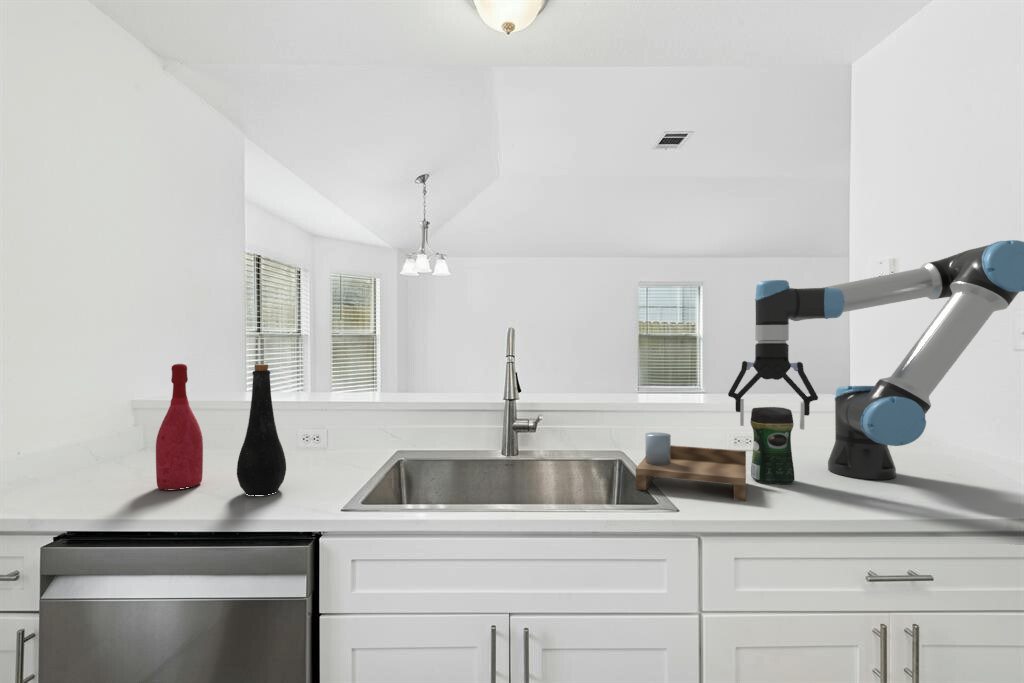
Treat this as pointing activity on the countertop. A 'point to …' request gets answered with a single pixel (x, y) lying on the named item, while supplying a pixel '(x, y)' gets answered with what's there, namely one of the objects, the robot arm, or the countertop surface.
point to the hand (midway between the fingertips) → (771, 426)
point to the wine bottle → (179, 440)
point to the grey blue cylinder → (658, 448)
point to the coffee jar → (772, 445)
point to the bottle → (261, 442)
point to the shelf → (699, 468)
